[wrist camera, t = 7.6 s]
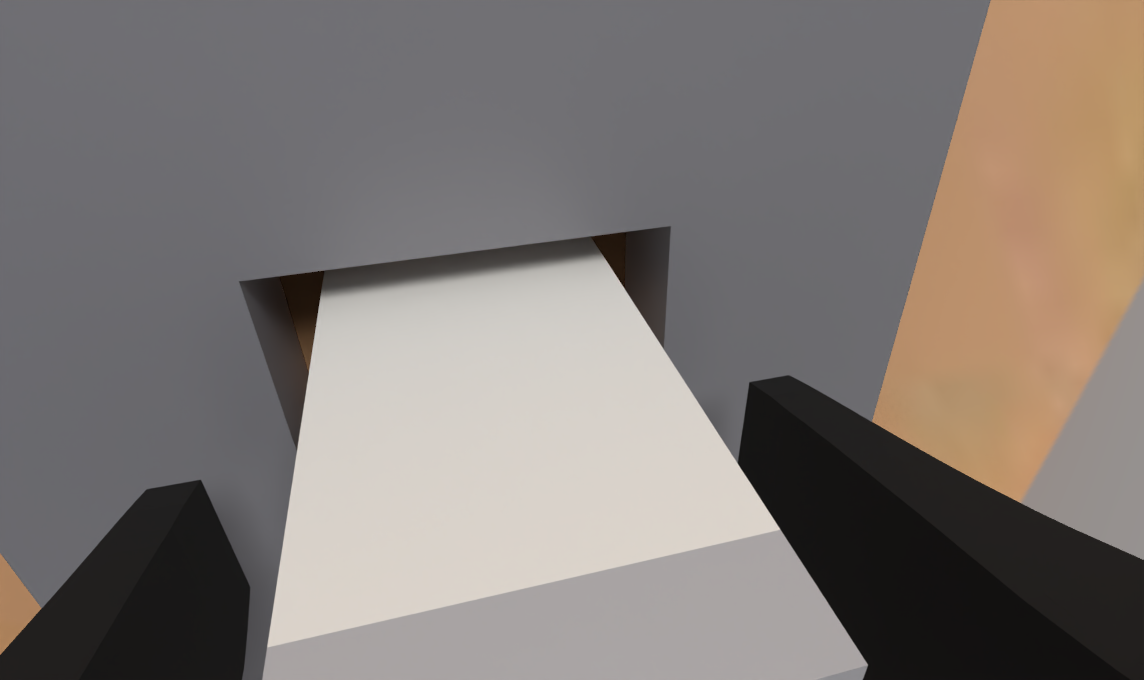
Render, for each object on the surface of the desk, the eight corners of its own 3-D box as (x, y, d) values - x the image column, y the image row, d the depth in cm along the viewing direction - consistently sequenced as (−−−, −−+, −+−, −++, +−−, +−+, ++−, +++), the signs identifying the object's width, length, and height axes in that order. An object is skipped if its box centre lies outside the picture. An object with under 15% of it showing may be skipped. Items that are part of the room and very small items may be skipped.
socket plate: (184, 668, 14) (150, 799, 12) (-297, -121, 7) (-605, -135, 5) (778, 534, 17) (835, 623, 15) (919, -147, 9) (1080, -163, 7)
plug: (378, 444, 13) (376, 1029, 6) (327, 250, 10) (238, 837, 4) (584, 406, 13) (785, 891, 7) (578, 217, 11) (867, 663, 4)
